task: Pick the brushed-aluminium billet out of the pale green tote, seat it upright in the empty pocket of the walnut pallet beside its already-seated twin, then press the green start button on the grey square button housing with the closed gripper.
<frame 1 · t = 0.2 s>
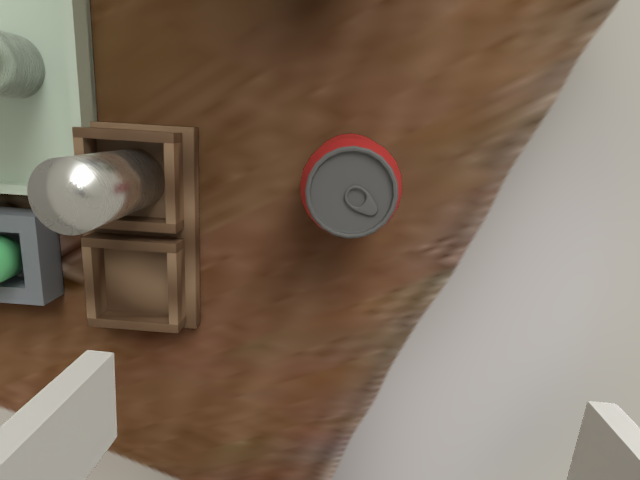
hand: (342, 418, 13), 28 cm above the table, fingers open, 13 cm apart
pallet: (144, 227, 41), on the table
grey square button housing: (18, 249, 42), on the table
beer can: (349, 172, 39), on the table
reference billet: (136, 178, 38), point 1 cm above the table, touching pallet
billet: (15, 66, 37), point 1 cm above the table, touching tote
tote: (20, 67, 38), on the table
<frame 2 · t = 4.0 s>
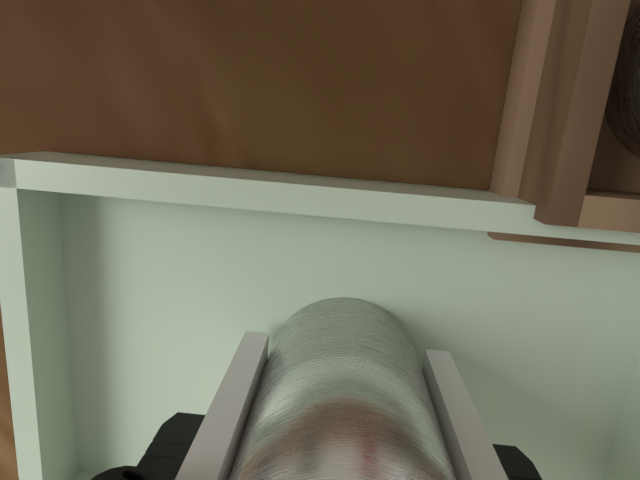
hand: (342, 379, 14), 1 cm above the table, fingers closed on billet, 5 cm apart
billet: (342, 366, 15), point 1 cm above the table, touching gripper, tote
tote: (343, 357, 16), on the table
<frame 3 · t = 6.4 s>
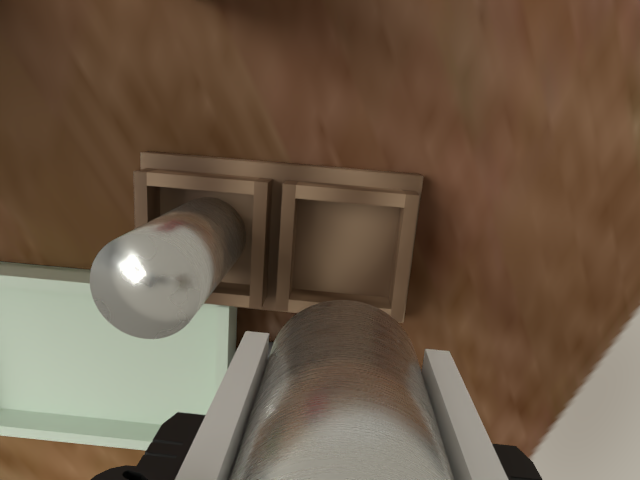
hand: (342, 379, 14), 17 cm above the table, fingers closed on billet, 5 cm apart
pallet: (278, 236, 31), on the table
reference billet: (208, 234, 30), point 1 cm above the table, touching pallet
billet: (342, 368, 15), point 16 cm above the table, touching gripper
tote: (99, 349, 34), on the table
when the fingers open (4 cm above the table, at t = 8.9 s): billet drops 2 cm, resting on pallet.
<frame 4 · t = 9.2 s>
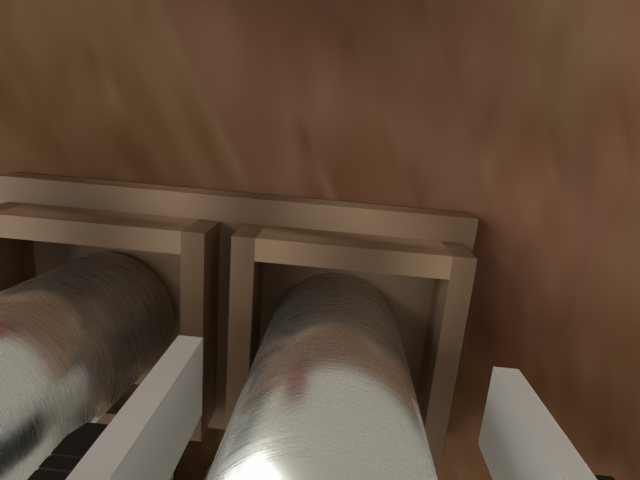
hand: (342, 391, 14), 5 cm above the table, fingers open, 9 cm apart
pallet: (236, 309, 19), on the table
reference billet: (114, 312, 18), point 1 cm above the table, tilted 5°, touching gripper, pallet
billet: (333, 333, 18), point 1 cm above the table, touching pallet
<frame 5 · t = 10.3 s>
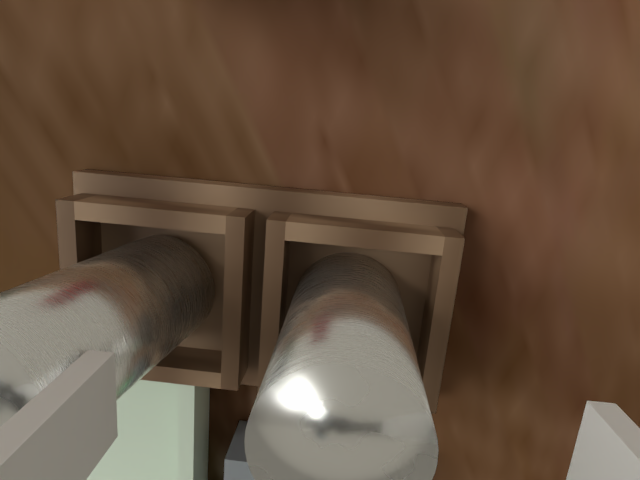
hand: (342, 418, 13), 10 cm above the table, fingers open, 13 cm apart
pallet: (265, 284, 23), on the table
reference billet: (165, 286, 21), point 2 cm above the table, tilted 7°, touching pallet
billet: (347, 303, 21), point 1 cm above the table, touching pallet
tote: (31, 426, 26), on the table
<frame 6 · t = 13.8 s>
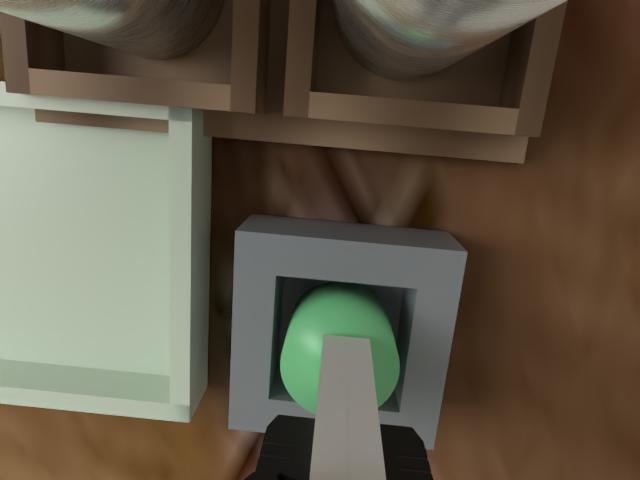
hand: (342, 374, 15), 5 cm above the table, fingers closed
start button: (339, 346, 16), point 3 cm above the table, slide at 0.5 cm, touching gripper
pallet: (288, 0, 16), on the table
grey square button housing: (340, 312, 19), on the table
billet: (407, 1, 15), point 1 cm above the table, touching pallet
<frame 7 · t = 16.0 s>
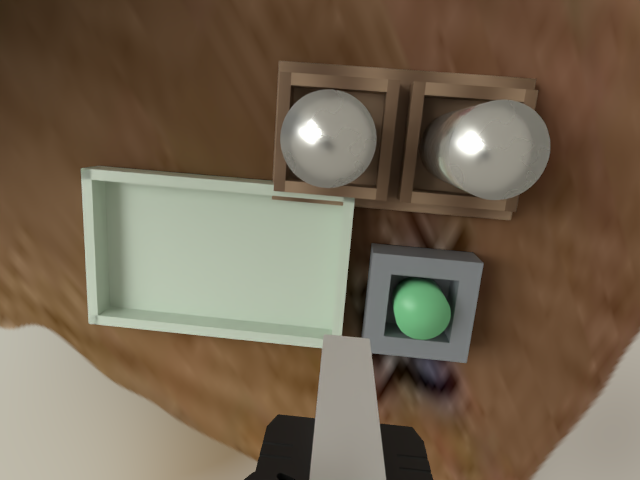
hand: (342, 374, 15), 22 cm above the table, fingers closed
start button: (419, 306, 34), point 3 cm above the table, slide at 1.0 cm
pallet: (395, 141, 34), on the table
grey square button housing: (415, 295, 37), on the table
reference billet: (335, 137, 33), point 1 cm above the table, touching pallet
billet: (455, 147, 33), point 1 cm above the table, touching pallet
tote: (223, 253, 37), on the table
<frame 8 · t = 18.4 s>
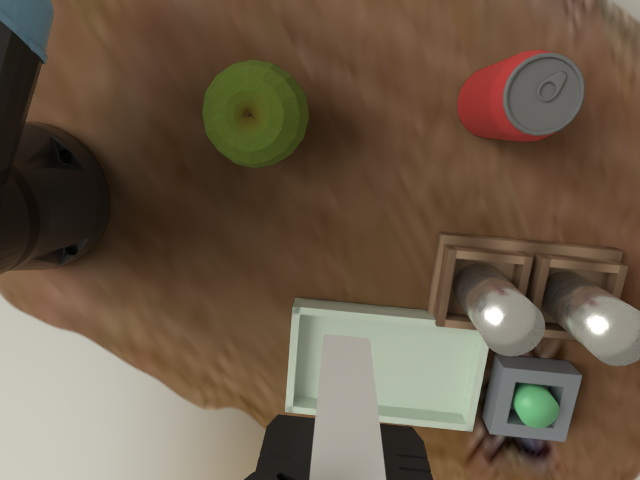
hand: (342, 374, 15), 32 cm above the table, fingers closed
start button: (533, 402, 48), point 3 cm above the table, slide at 1.0 cm
pallet: (517, 285, 47), on the table
apple: (271, 117, 45), on the table
grey square button housing: (524, 389, 50), on the table
beer can: (489, 103, 43), on the table
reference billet: (478, 285, 46), point 1 cm above the table, touching pallet
billet: (563, 294, 46), point 1 cm above the table, touching pallet
tote: (382, 358, 50), on the table
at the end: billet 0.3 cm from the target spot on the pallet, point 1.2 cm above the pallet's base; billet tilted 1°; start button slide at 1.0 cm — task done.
